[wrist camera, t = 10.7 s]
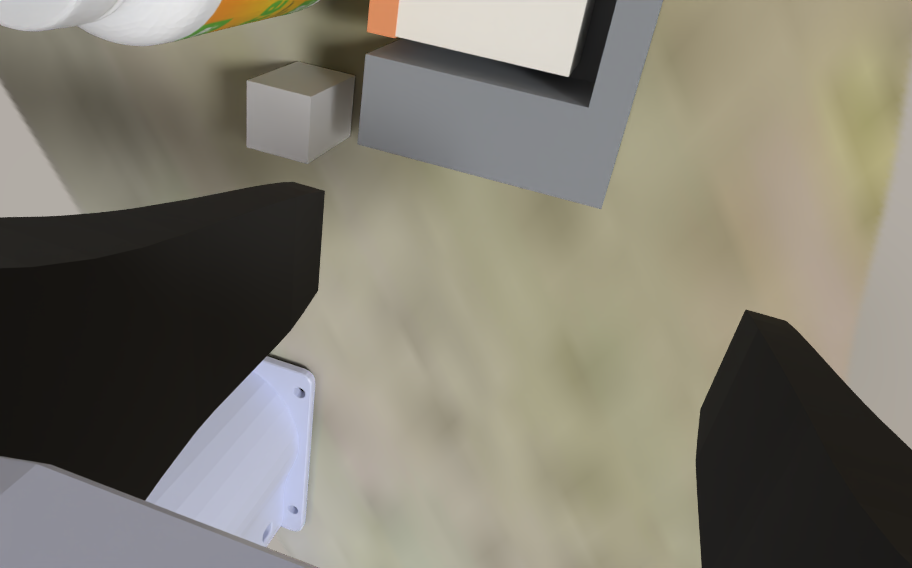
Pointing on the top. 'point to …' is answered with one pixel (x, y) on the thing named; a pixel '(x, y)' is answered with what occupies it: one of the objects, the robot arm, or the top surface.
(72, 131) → the top surface
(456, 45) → the orange-ended white block
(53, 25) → the supplement bottle
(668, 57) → the top surface
